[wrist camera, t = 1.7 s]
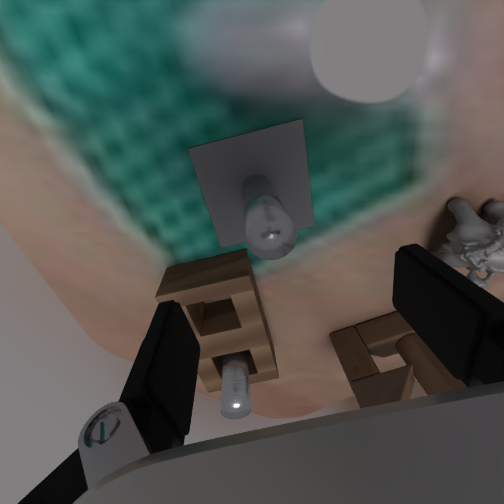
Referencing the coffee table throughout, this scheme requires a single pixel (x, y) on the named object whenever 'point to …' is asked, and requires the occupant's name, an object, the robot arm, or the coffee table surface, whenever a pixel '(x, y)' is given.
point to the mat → (254, 163)
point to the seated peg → (235, 386)
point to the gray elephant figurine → (475, 240)
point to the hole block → (222, 314)
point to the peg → (266, 220)
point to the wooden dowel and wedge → (383, 345)
